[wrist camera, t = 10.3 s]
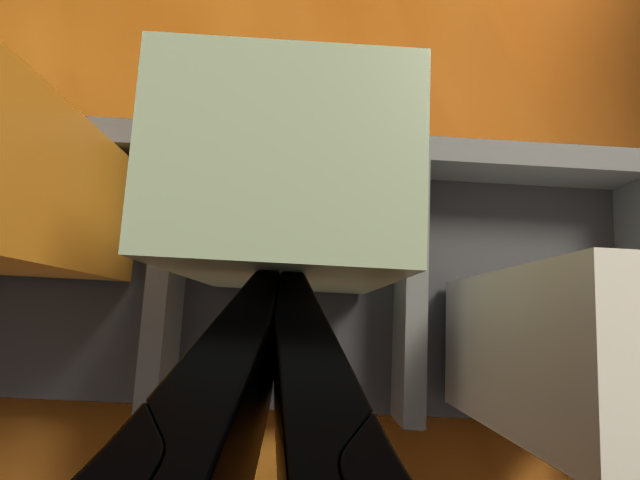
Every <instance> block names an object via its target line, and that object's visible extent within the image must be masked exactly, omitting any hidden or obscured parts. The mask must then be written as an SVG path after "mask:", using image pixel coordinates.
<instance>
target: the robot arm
mask: <svg viewBox="0 0 640 480" xmlns="http://www.w3.org/2000/svg"><path fill="white" fill-rule="evenodd" d="M273 384H274V418H275V440H276V463H277V480H412V479H411V477H410V475H409V474H408V472H407V471H406V469H405V467H404V466H403V464H402V463H401V461H400V459H399V457H398V456H397V454H396V452H395V450H394V448H393V446H392V445H391V443H390V441H389V439H388V437H387V435H386V434H385V432H384V430H383V428H382V426H381V424H380V422H379V420H378V418H377V416H376V414H374V413H373V408H372V406H371V404H370V402H369V400H368V398H367V397H366V395H365V393H364V391H363V389H362V387H361V385H360V383H359V381H358V379H357V377H356V375H355V373H354V371H353V369H352V367H351V365H350V363H349V361H348V359H347V357H346V355H345V353H344V351H343V349H342V347H341V345H340V343H339V341H338V339H337V337H336V335H335V333H334V331H333V329H332V327H331V325H330V323H329V321H328V319H327V317H326V315H325V313H324V311H323V309H322V307H321V305H320V303H319V301H318V299H317V297H316V295H315V293H314V291H313V289H312V288H311V286H310V284H309V282H308V280H307V278H306V276H305V274H304V273H303V272H291V271H283V272H281V274H280V273H279V272H278V271H272V270H257V271H256V272H255V273H254V274H253V275H252V276H251V277H250V279H249V280H248V281H247V282H246V283H245V284H244V286H243V287H242V288H241V289H240V290H239V291H238V293H237V294H236V295H235V296H234V297H233V298H232V300H231V301H230V302H229V303H228V304H227V305H226V306H225V308H224V309H223V310H222V311H221V312H220V313H219V315H218V316H217V317H216V318H215V319H214V320H213V322H212V323H211V324H210V325H209V326H208V327H207V329H206V330H205V331H204V332H203V333H202V334H201V336H200V337H199V338H198V339H197V340H196V341H195V343H194V344H193V345H192V346H191V347H190V348H189V350H188V351H187V352H186V353H185V354H184V355H183V357H182V358H181V359H180V360H179V361H178V362H177V364H176V365H175V366H174V367H173V368H172V369H171V371H170V372H169V373H168V374H167V375H166V376H165V378H164V379H163V380H162V381H161V382H160V383H159V385H158V386H157V387H156V388H155V389H154V390H153V392H152V393H151V394H150V395H149V396H148V397H147V399H146V403H142V404H141V405H140V406H139V408H138V409H137V410H136V411H135V412H134V414H133V415H132V416H131V417H130V418H129V419H128V421H127V422H126V423H125V424H124V425H123V426H122V427H121V428H120V429H119V431H118V432H117V433H116V434H115V435H114V436H113V437H112V438H111V439H110V440H109V442H108V443H107V444H106V445H105V446H104V447H103V448H102V449H101V450H100V451H99V452H98V453H97V454H96V455H95V456H94V457H93V458H92V459H91V460H90V461H89V462H88V463H87V464H86V465H85V466H84V467H83V468H82V469H81V470H80V471H79V472H78V473H77V474H76V475H75V476H74V477H73V478H72V479H71V480H254V478H255V473H256V469H257V464H258V459H259V455H260V450H261V445H262V441H263V436H264V431H265V427H266V422H267V417H268V413H269V408H270V403H271V398H272V392H273Z"/></svg>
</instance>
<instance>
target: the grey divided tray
mask: <svg viewBox="0 0 640 480" xmlns="http://www.w3.org/2000/svg"><path fill="white" fill-rule="evenodd" d="M85 117H87V118H88V119H89V120H90V121H91V122H92V123H93V124H94V125H95V126H96V127H97V128H99V129H100V130H101V131H102V132H103V133H104V134H105V135H106V136H107V137H108V138H110V139H111V140H112V141H113V142H114V143H115V144H116V145H117V146H118V147H119V148H120V149H122V150H123V151H124V152H125V153H126V154H127V155H128V156H129V151H130V142H131V132H132V123H133V119H128V118H111V117H94V116H85ZM592 247H601V248H620V249H638V250H640V148H630V147H612V146H595V145H578V144H561V143H543V142H526V141H509V140H491V139H474V138H457V137H440V136H429V180H428V238H427V271H424V272H422V273H419V274H416V275H414V276H411V277H409V278H406V279H403V280H401V281H398V282H395V283H393V284H390V285H387V286H385V287H382V288H379V289H377V290H374V291H372V292H369V293H366V294H347V293H328V292H314V293H315V295H316V297H317V299H318V301H319V303H320V305H321V307H322V309H323V311H324V313H325V315H326V317H327V319H328V321H329V323H330V325H331V327H332V329H333V331H334V333H335V335H336V337H337V339H338V341H339V343H340V345H341V347H342V349H343V351H344V353H345V355H346V357H347V359H348V361H349V363H350V365H351V367H352V369H353V371H354V373H355V375H356V377H357V379H358V381H359V383H360V385H361V387H362V389H363V391H364V393H365V395H366V397H367V398H368V400H369V402H370V404H371V406H372V408H373V413H374V414H380V415H391V416H392V418H393V419H394V420H395V421H396V422H397V423H398V424H399V426H400V427H401V428H402V429H403V430H420V431H426V417H445V418H467V419H473V418H471V417H470V416H468V415H466V414H465V413H463V412H461V411H460V410H458V409H456V408H455V407H453V406H451V405H450V404H448V403H446V402H445V340H446V283H447V282H451V281H455V280H459V279H464V278H468V277H472V276H476V275H480V274H484V273H488V272H493V271H497V270H501V269H505V268H509V267H513V266H517V265H522V264H526V263H530V262H534V261H538V260H542V259H547V258H551V257H555V256H559V255H563V254H567V253H571V252H576V251H580V250H584V249H588V248H592ZM240 289H241V288H229V287H214V286H211V285H208V284H205V283H202V282H199V281H196V280H193V279H190V278H187V277H184V276H181V275H178V274H175V273H172V272H169V271H166V270H163V269H160V268H157V267H154V266H151V265H148V264H145V263H142V262H139V261H136V260H133V267H132V277H131V282H125V281H105V280H85V279H66V278H46V277H26V276H7V275H0V397H7V398H29V399H51V400H73V401H95V402H116V403H133V407H132V415H133V414H134V412H135V411H136V410H137V409H138V408H139V406H140V405H141V404H142V403H146V399H147V397H148V396H149V395H150V394H151V393H152V392H153V390H154V389H155V388H156V387H157V386H158V385H159V383H160V382H161V381H162V380H163V379H164V378H165V376H166V375H167V374H168V373H169V372H170V371H171V369H172V368H173V367H174V366H175V365H176V364H177V362H178V361H179V360H180V359H181V358H182V357H183V355H184V354H185V353H186V352H187V351H188V350H189V348H190V347H191V346H192V345H193V344H194V343H195V341H196V340H197V339H198V338H199V337H200V336H201V334H202V333H203V332H204V331H205V330H206V329H207V327H208V326H209V325H210V324H211V323H212V322H213V320H214V319H215V318H216V317H217V316H218V315H219V313H220V312H221V311H222V310H223V309H224V308H225V306H226V305H227V304H228V303H229V302H230V301H231V300H232V298H233V297H234V296H235V295H236V294H237V293H238V291H239V290H240ZM269 409H270V410H274V384H273V392H272V398H271V403H270V408H269Z"/></svg>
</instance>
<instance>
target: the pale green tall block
mask: <svg viewBox="0 0 640 480" xmlns="http://www.w3.org/2000/svg"><path fill="white" fill-rule="evenodd" d="M430 65H431V49H429V48H413V47H397V46H381V45H364V44H348V43H332V42H316V41H299V40H283V39H267V38H251V37H235V36H218V35H202V34H186V33H170V32H154V31H143V32H142V42H141V51H140V60H139V69H138V78H137V87H136V96H135V105H134V114H133V123H132V132H131V142H130V151H129V160H128V169H127V178H126V187H125V196H124V205H123V214H122V223H121V233H120V242H119V251H118V255H121V256H124V257H127V258H130V259H133V260H136V261H139V262H142V263H145V264H148V265H151V266H154V267H157V268H160V269H163V270H166V271H169V272H172V273H175V274H178V275H181V276H184V277H187V278H190V279H193V280H196V281H199V282H202V283H205V284H208V285H211V286H214V287H229V288H242V287H243V286H244V284H245V283H246V282H247V281H248V280H249V279H250V277H251V276H252V275H253V274H254V273H255V272H256V271H257V270H272V271H278V272H279V273H280V274H281V272H283V271H291V272H303V273H304V274H305V276H306V278H307V280H308V282H309V284H310V286H311V288H312V289H313V291H314V292H328V293H347V294H366V293H369V292H372V291H374V290H377V289H379V288H382V287H385V286H387V285H390V284H393V283H395V282H398V281H401V280H403V279H406V278H409V277H411V276H414V275H416V274H419V273H422V272H424V271H427V238H428V180H429V123H430Z"/></svg>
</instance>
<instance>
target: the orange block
mask: <svg viewBox="0 0 640 480" xmlns="http://www.w3.org/2000/svg"><path fill="white" fill-rule="evenodd" d="M128 160H129V156H128V155H127V154H126V153H125V152H124V151H123V150H122V149H120V148H119V147H118V146H117V145H116V144H115V143H114V142H113V141H112V140H111V139H110V138H108V137H107V136H106V135H105V134H104V133H103V132H102V131H101V130H100V129H99V128H97V127H96V126H95V125H94V124H93V123H92V122H91V121H90V120H89V119H88V118H87V117H85V116H84V115H83V114H82V113H81V112H80V111H79V110H78V109H77V108H76V107H75V106H73V105H72V104H71V103H70V102H69V101H68V100H67V99H66V98H65V97H64V96H62V95H61V94H60V93H59V92H58V91H57V90H56V89H55V88H54V87H53V86H52V85H50V84H49V83H48V82H47V81H46V80H45V79H44V78H43V77H42V76H41V75H39V74H38V73H37V72H36V71H35V70H34V69H33V68H32V67H31V66H30V65H29V64H27V63H26V62H25V61H24V60H23V59H22V58H21V57H20V56H19V55H18V54H16V53H15V52H14V51H13V50H12V49H11V48H10V47H9V46H8V45H7V44H6V43H4V42H3V41H2V40H1V39H0V275H7V276H26V277H46V278H66V279H85V280H105V281H125V282H131V277H132V267H133V259H130V258H127V257H124V256H121V255H118V251H119V242H120V233H121V223H122V214H123V205H124V196H125V187H126V178H127V169H128Z"/></svg>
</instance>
